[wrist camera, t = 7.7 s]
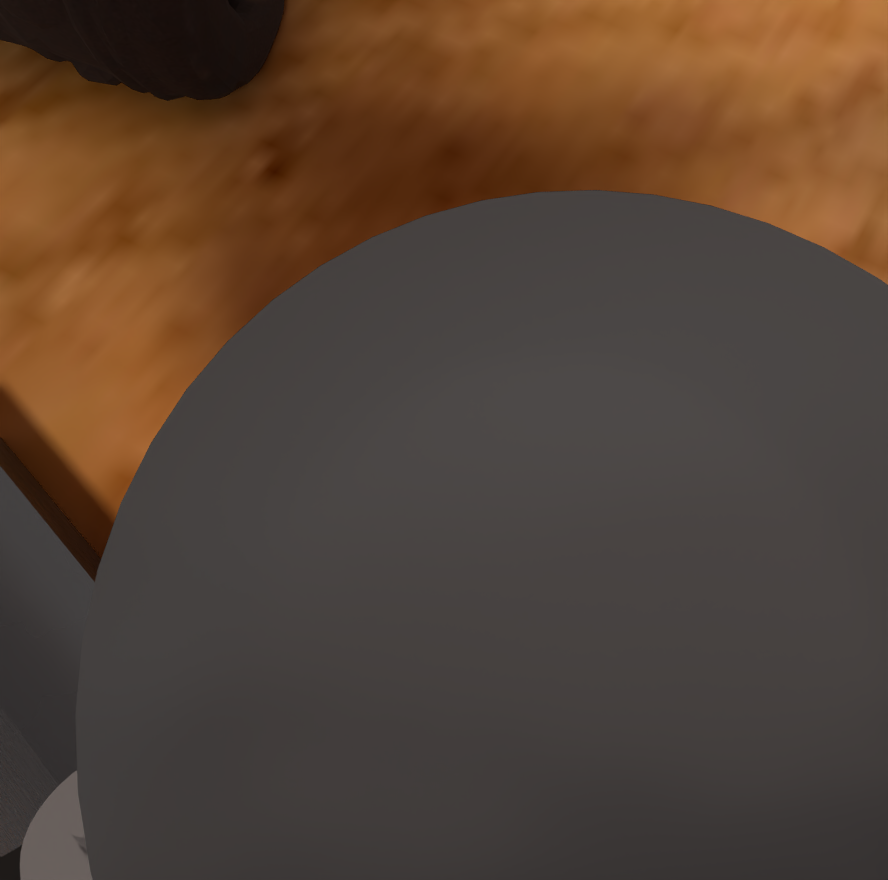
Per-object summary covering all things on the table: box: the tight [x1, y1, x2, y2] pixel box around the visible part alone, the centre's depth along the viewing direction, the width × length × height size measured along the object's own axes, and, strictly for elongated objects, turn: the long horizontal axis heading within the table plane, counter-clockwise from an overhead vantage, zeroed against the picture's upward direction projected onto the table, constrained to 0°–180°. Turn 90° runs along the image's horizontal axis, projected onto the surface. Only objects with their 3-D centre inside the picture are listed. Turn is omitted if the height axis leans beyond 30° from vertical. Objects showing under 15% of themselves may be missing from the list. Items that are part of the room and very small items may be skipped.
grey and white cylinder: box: [75, 190, 888, 880], centre depth 9 cm, size 6×6×10 cm
